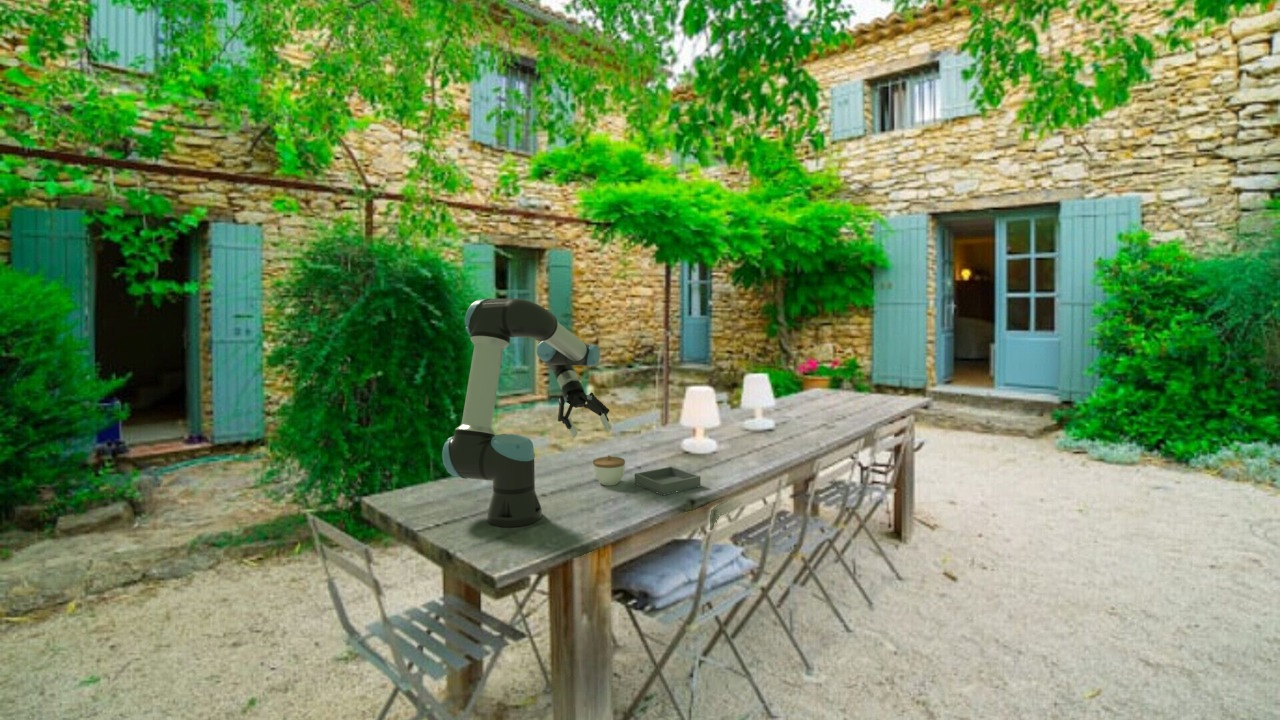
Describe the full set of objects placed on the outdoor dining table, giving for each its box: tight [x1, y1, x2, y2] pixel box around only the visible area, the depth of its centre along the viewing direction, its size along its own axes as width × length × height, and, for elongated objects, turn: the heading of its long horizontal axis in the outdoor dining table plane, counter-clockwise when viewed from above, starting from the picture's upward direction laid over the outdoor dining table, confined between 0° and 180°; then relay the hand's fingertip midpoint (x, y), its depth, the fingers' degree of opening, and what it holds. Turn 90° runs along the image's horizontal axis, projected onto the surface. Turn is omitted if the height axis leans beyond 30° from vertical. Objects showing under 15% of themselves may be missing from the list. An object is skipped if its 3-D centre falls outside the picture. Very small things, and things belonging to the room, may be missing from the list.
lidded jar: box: [592, 455, 626, 486], centre depth 211 cm, size 11×11×9 cm
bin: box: [634, 466, 701, 496], centre depth 208 cm, size 16×16×4 cm
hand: (592, 433), depth 219 cm, fingers open, 13 cm apart
